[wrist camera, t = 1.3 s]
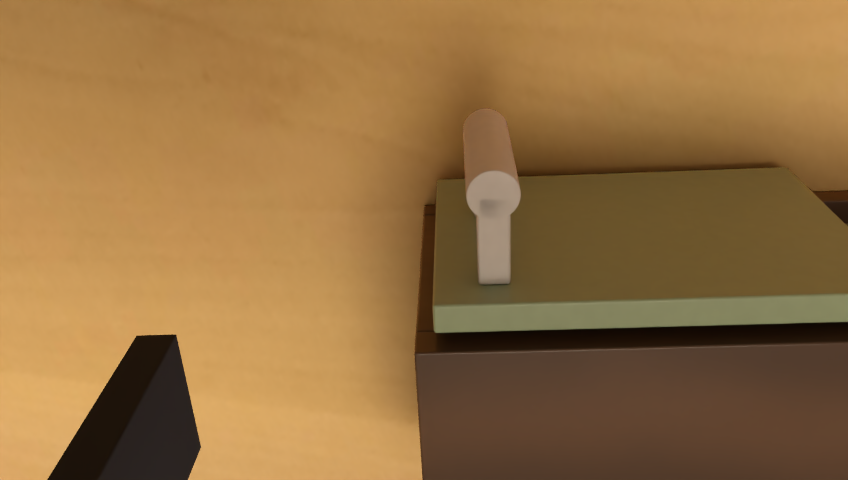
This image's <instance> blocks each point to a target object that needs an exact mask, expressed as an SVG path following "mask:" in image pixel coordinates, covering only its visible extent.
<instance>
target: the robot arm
mask: <svg viewBox="0 0 848 480" xmlns="http://www.w3.org/2000/svg"><path fill="white" fill-rule="evenodd" d="M200 448H201V445H200V441H199V436H198V432H197V427H196V423H195V418H194V414H193V409H192V405H191V400H190V396H189V391H188V386H187V382H186V377H185V373H184V368H183V364H182V359H181V355H180V350H179V346H178V341H177V337H176V335H145V336H136V338H135V339H134V341H133V343H132V344H131V346H130V348H129V349H128V351H127V352H126V354H125V356H124V357H123V359H122V360H121V362H120V364H119V365H118V367H117V368H116V370H115V372H114V373H113V375H112V377H111V378H110V380H109V381H108V383H107V385H106V386H105V388H104V389H103V391H102V393H101V394H100V396H99V397H98V399H97V401H96V402H95V404H94V405H93V407H92V409H91V410H90V412H89V414H88V415H87V417H86V418H85V420H84V422H83V423H82V425H81V426H80V428H79V430H78V431H77V433H76V434H75V436H74V438H73V439H72V441H71V443H70V444H69V446H68V447H67V449H66V451H65V452H64V454H63V455H62V457H61V459H60V460H59V462H58V463H57V465H56V467H55V468H54V470H53V472H52V473H51V475H50V476H49V478H48V480H188V478H189V475H190V473H191V470H192V468H193V465H194V463H195V460H196V458H197V455H198V453H199V450H200Z"/></svg>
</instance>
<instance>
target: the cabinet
mask: <svg viewBox="0 0 848 480" xmlns="http://www.w3.org/2000/svg"><path fill="white" fill-rule="evenodd" d="M813 193H814V194H815V195H816V196H817V197H818V198H819V199H820V200H821V201H822V202H823V203H824V204H825V205H826V206H827V207H828V208H829V209H830V210H831V211H832V212H833V213H834V214H835V215H836V216H837V217H838V218H840V219H841V220H842V221H843V222H844V223H845V224H846V225H847V226H848V191H835V192H813ZM435 220H436V205H426V206H425V207H424V218H423V233H422V249H421V264H420V279H419V294H418V309H417V324H416V338H415V353H414V355H415V371H416V386H417V401H418V416H419V432H420V447H421V462H422V477H423V480H848V322H826V323H789V324H752V325H715V326H678V327H640V328H603V329H566V330H529V331H492V332H455V333H435V331H434V326H433V278H434V249H435Z"/></svg>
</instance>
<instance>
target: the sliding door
mask: <svg viewBox="0 0 848 480" xmlns="http://www.w3.org/2000/svg"><path fill="white" fill-rule="evenodd" d="M463 144H464V165H465V179H442V180H437V191H436V220H435V249H434V278H433V326H434V331H435V333H455V332H492V331H529V330H566V329H603V328H640V327H678V326H715V325H752V324H789V323H826V322H848V226H847V225H846V224H845V223H844V222H843V221H842V220H841V219H840V218H838V217H837V216H836V215H835V214H834V213H833V212H832V211H831V210H830V209H829V208H828V207H827V206H826V205H825V204H824V203H823V202H822V201H821V200H820V199H819V198H818V197H817V196H816V195H815V194H814V193H813V192H812V191H811V190H810V189H809V188H808V187H807V186H806V185H805V184H804V183H803V182H802V181H801V180H800V179H799V178H798V177H797V176H796V175H795V174H793V173H792V172H791V171H790V170H789V169H788V168H787V167H778V168H750V169H722V170H694V171H666V172H638V173H610V174H582V175H554V176H526V177H518V175H517V170H516V165H515V160H514V155H513V151H512V146H511V141H510V136H509V131H508V126H507V122H506V120H505V118H504V117H503V116H502V115H501V114H500V113H499V112H498V111H496V110H493V109H489V108H483V109H479V110H476V111H474V112H472V113H471V114H470V115H469V116H468V117H467V119H466V120H465V122H464V125H463Z"/></svg>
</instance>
